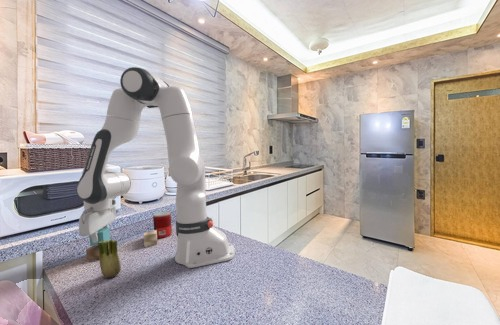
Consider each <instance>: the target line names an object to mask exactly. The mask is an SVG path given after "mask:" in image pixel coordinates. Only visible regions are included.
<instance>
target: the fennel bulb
mask: <svg viewBox="0 0 500 325" xmlns="http://www.w3.org/2000/svg"><path fill="white" fill-rule="evenodd" d="M108 242H109V245H108ZM98 245H99V259H98V260H99V267H100V271H101V273H102V276H103V278H105V279H111V278H114V277H116V276H117V275H118V274H120V273H121V271H122V270H121V260H120V257H119V253H118V240H117V239H115V240H114V239H110V240H109V241H104V242H103V241H101V242H98Z"/></svg>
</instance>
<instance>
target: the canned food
mask: <svg viewBox="0 0 500 325" xmlns="http://www.w3.org/2000/svg"><path fill="white" fill-rule="evenodd" d="M152 219H153V230H157V239H165V238H168V237H170V236H171V235H172V234H173V233H172V232H173V230H172V228H173V227H172V214H171V211H170V210H169V211H168V210H164V211H163V210H162V211H158V212H155V213H153V214H152Z"/></svg>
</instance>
